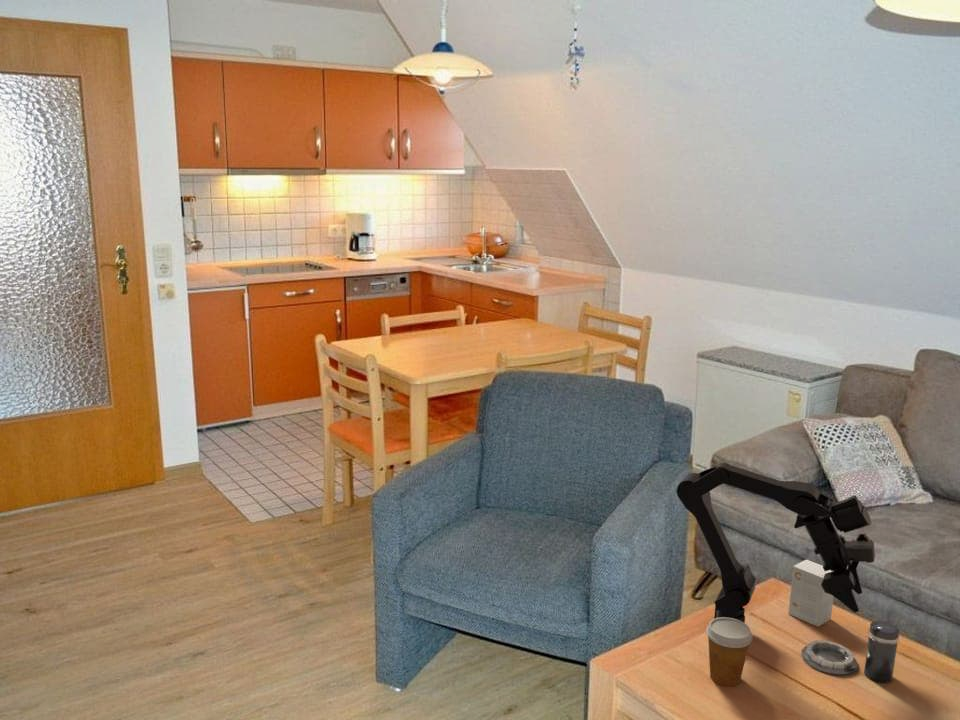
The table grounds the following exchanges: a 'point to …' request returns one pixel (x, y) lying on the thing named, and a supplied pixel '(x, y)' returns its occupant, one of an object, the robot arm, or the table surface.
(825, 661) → the mount ring
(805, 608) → the small box
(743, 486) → the robot arm
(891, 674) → the lens
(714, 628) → the disposable coffee cup
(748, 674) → the table surface
